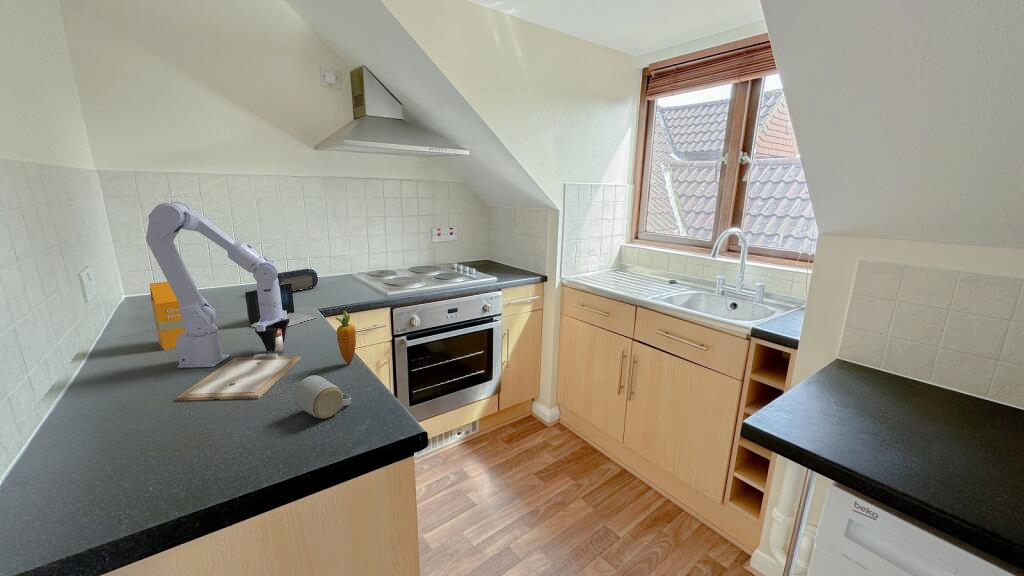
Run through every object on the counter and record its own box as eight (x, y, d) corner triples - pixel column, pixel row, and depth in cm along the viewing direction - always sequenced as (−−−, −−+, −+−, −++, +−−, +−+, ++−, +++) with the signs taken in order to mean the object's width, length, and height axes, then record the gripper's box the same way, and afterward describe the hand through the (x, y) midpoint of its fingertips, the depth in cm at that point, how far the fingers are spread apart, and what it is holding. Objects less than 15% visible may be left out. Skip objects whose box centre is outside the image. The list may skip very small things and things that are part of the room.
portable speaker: (271, 298, 189) (268, 276, 187) (260, 295, 194) (257, 274, 192) (322, 288, 210) (321, 268, 207) (311, 285, 215) (309, 266, 213)
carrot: (352, 368, 115) (347, 315, 112) (335, 367, 116) (330, 314, 113) (361, 361, 120) (358, 310, 117) (346, 360, 121) (341, 309, 118)
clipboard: (177, 400, 97) (175, 393, 97) (235, 360, 120) (234, 354, 120) (258, 398, 98) (257, 391, 98) (300, 358, 122) (300, 352, 121)
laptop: (272, 333, 144) (267, 296, 142) (249, 327, 150) (244, 291, 147) (316, 319, 160) (313, 285, 157) (294, 314, 166) (290, 282, 163)
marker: (265, 355, 124) (262, 333, 122) (272, 350, 128) (269, 328, 126) (280, 355, 124) (277, 332, 123) (286, 350, 128) (284, 328, 127)
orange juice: (198, 343, 134) (188, 281, 129) (163, 350, 127) (151, 285, 123) (193, 337, 139) (183, 277, 134) (158, 344, 133) (147, 281, 128)
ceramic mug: (315, 426, 87) (312, 391, 85) (294, 414, 91) (291, 381, 90) (359, 406, 95) (357, 374, 94) (338, 396, 100) (336, 366, 98)
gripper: (272, 309, 116) (278, 355, 119) (295, 296, 130) (299, 338, 133) (245, 309, 115) (252, 356, 118) (271, 296, 129) (276, 338, 132)
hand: (275, 346), depth 125 cm, fingers open, 5 cm apart
